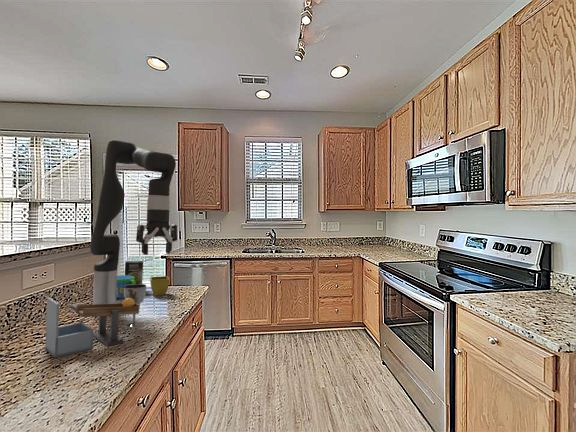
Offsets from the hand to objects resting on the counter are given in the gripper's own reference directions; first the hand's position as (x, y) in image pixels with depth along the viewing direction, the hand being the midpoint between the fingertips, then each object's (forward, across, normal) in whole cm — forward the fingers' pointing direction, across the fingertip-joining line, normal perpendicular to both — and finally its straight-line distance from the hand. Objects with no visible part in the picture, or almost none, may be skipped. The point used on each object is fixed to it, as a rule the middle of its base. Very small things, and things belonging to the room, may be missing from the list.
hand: (156, 253), depth 120 cm
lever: (+20, +13, -11) cm, 26 cm away
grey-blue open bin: (+29, +25, -7) cm, 39 cm away
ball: (+18, +6, -7) cm, 20 cm away
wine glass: (+29, 0, -16) cm, 33 cm away
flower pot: (+30, -30, -53) cm, 68 cm away
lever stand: (+29, +13, -7) cm, 33 cm away
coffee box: (+30, -24, -70) cm, 79 cm away
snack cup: (+30, -14, -60) cm, 68 cm away
